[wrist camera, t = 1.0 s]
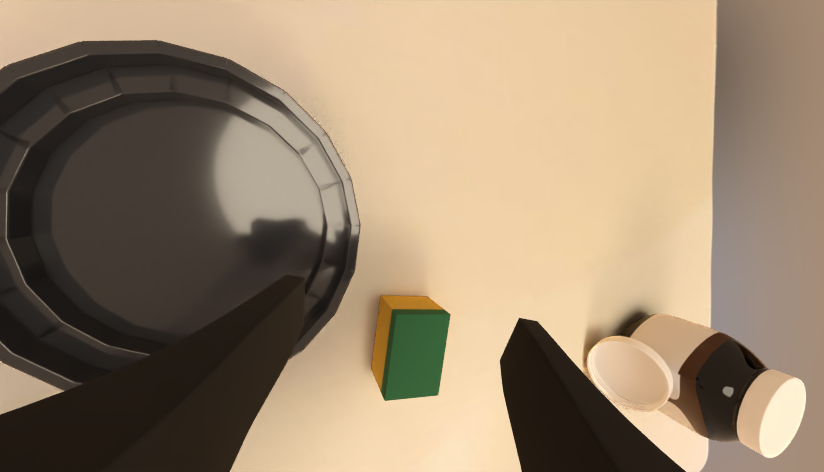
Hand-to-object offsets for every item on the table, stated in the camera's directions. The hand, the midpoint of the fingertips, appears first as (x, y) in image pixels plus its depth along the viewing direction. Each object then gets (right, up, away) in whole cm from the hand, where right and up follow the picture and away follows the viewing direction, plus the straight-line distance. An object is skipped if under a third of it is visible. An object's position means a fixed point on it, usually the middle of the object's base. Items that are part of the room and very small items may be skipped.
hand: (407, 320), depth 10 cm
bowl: (-13, +3, +9) cm, 16 cm away
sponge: (-1, -5, +14) cm, 15 cm away
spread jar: (+24, -10, +25) cm, 36 cm away
